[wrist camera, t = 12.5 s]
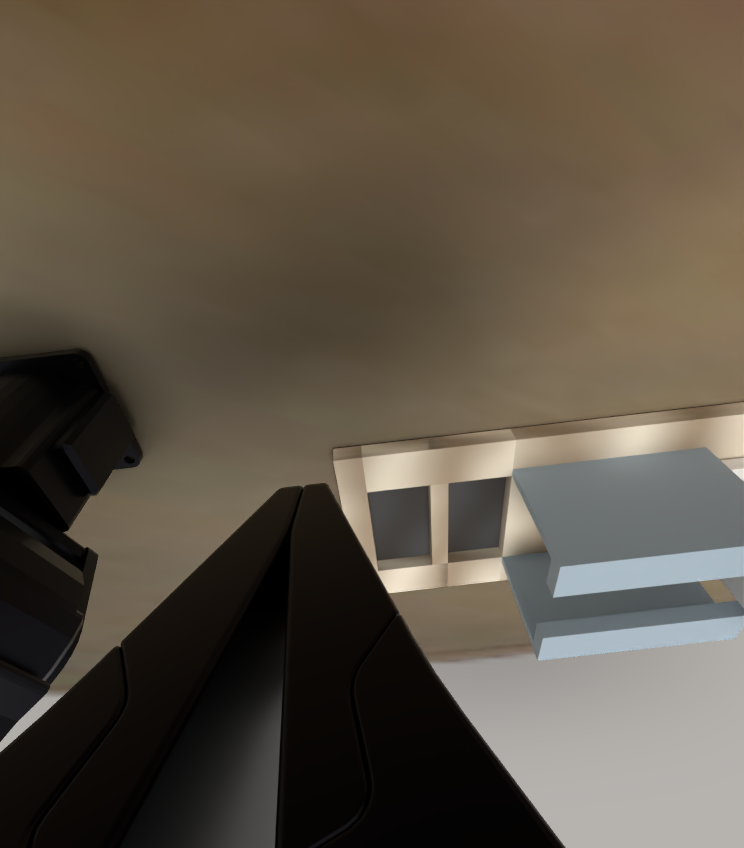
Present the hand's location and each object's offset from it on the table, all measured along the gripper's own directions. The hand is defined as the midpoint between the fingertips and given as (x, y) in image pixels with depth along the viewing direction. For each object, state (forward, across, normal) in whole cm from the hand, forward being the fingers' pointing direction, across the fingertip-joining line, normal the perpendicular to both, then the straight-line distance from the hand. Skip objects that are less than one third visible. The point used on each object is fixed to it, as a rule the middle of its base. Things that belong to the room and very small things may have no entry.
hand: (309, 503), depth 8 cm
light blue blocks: (+13, +14, -15) cm, 24 cm away
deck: (+13, +12, -15) cm, 23 cm away
